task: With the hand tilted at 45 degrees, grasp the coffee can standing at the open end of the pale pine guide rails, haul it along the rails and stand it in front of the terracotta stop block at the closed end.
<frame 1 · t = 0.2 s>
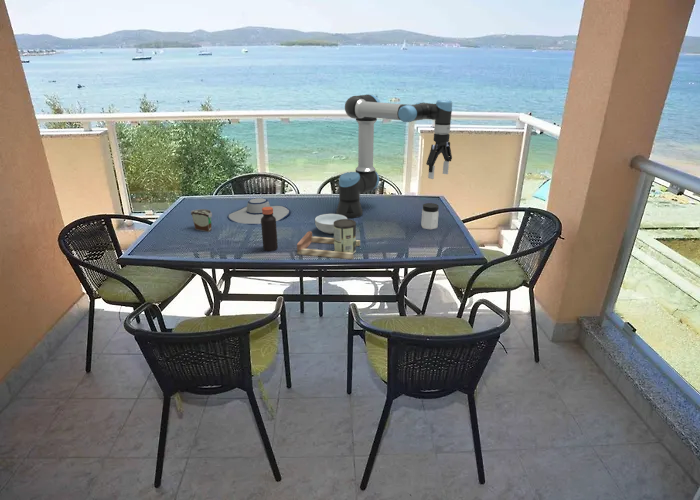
hand: (438, 176, 227), 28 cm above the table, tool pointing down, fingers open, 13 cm apart
coffee can: (344, 251, 210), on the table
jar: (429, 227, 240), on the table
sun hat: (259, 215, 260), on the table
bottle: (270, 249, 213), on the table
food container: (206, 229, 238), on the table
guide: (329, 249, 211), on the table
cereal bowl: (331, 231, 234), on the table
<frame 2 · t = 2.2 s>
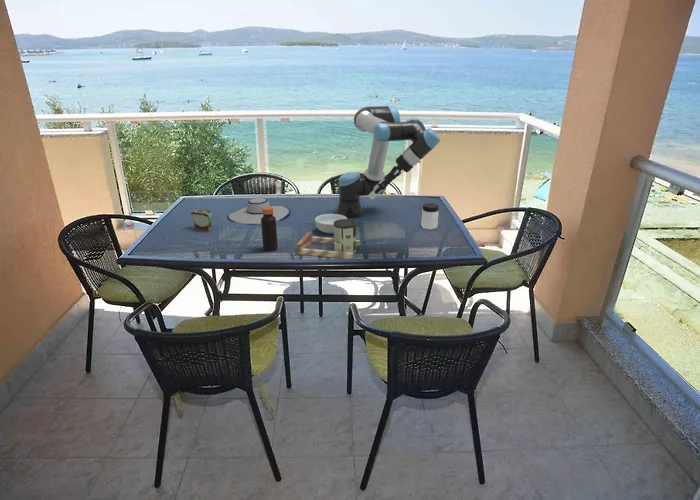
hand: (372, 193, 197), 28 cm above the table, tool tilted 45°, fingers open, 13 cm apart
nothing on the table moved.
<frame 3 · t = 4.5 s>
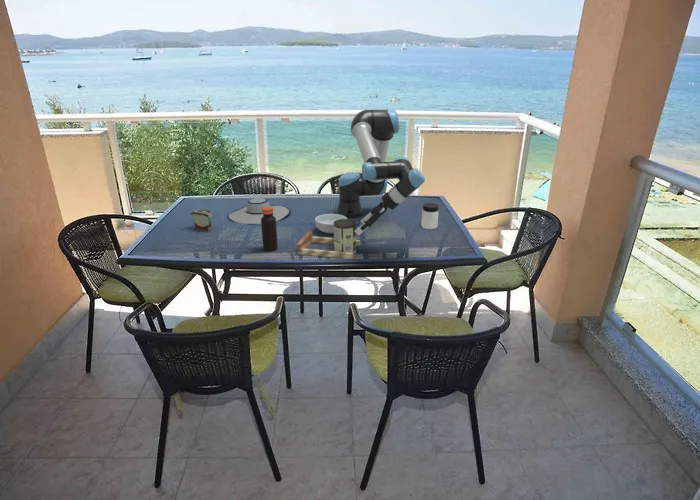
hand: (359, 228, 203), 12 cm above the table, tool tilted 45°, fingers open, 13 cm apart
nothing on the table moved.
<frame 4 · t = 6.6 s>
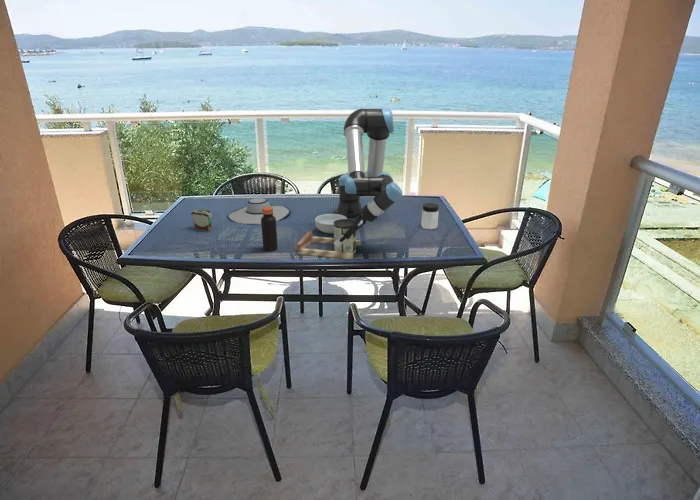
hand: (338, 240, 208), 5 cm above the table, tool tilted 45°, fingers closed on coffee can, 10 cm apart
coffee can: (344, 251, 210), on the table, touching gripper
everything else where it was.
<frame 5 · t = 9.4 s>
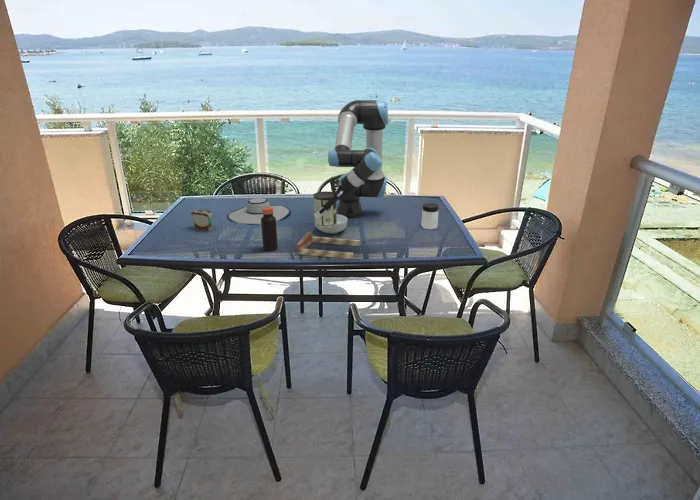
hand: (318, 213, 205), 18 cm above the table, tool tilted 45°, fingers closed on coffee can, 10 cm apart
coffee can: (325, 224, 207), point 13 cm above the table, touching gripper
everything else where it was.
when the fingers open (6 cm above the table, at t = 12.2 s): coffee can drops 1 cm, on the table.
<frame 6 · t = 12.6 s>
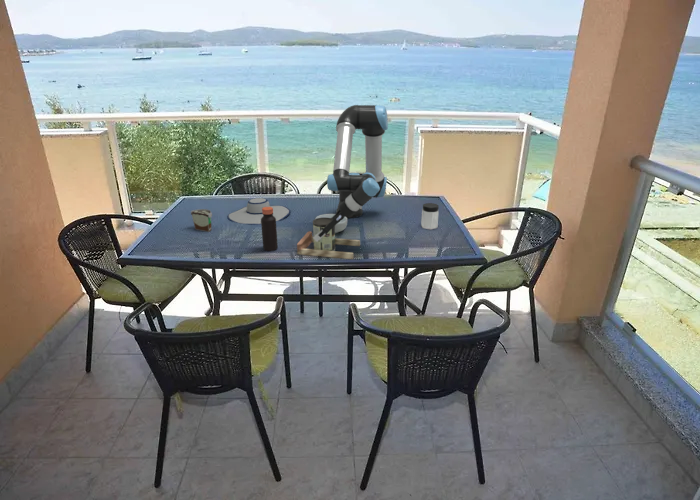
hand: (319, 234, 209), 7 cm above the table, tool tilted 45°, fingers open, 13 cm apart
coffee can: (324, 249, 212), on the table
everything else where it was.
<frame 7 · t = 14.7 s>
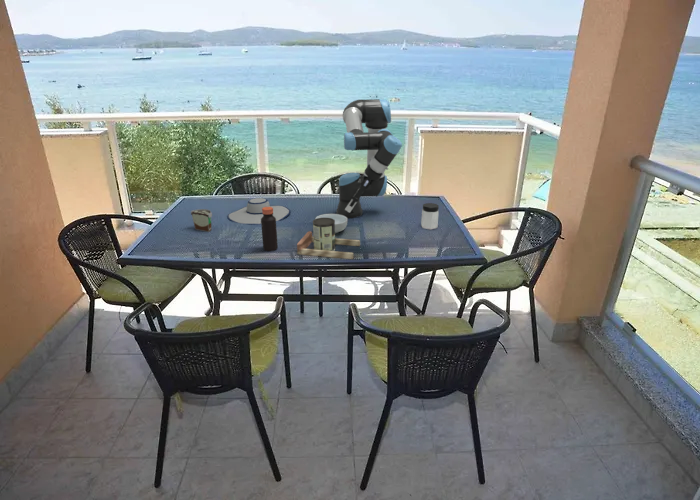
hand: (351, 205, 205), 21 cm above the table, tool tilted 35°, fingers open, 13 cm apart
nothing on the table moved.
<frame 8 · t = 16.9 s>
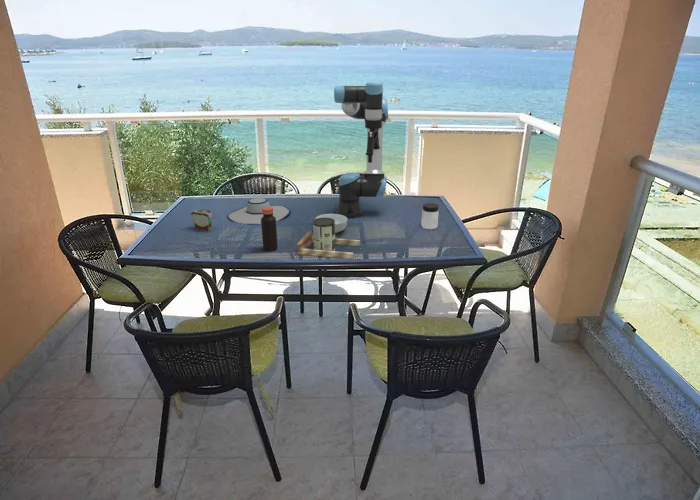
hand: (372, 166, 208), 37 cm above the table, tool pointing down, fingers open, 13 cm apart
nothing on the table moved.
at the end: coffee can inside the target area (0.1 cm from its centre), on the table; coffee can tilted 0°; the gripper is holding nothing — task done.
